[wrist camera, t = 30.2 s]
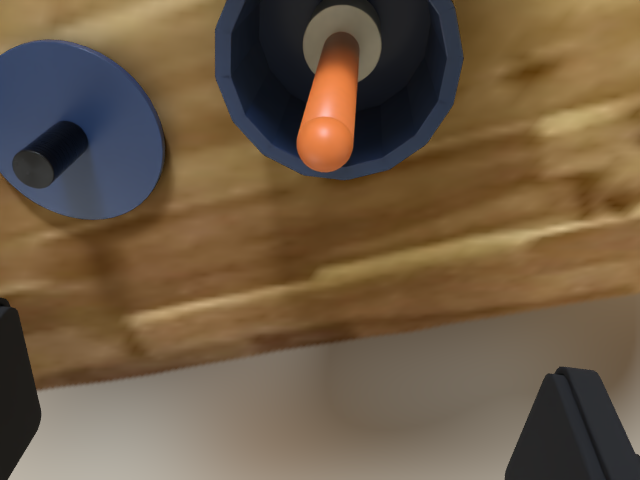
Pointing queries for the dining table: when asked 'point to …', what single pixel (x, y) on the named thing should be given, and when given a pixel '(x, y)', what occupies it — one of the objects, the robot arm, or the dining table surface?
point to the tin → (372, 92)
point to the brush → (336, 78)
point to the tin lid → (76, 131)
